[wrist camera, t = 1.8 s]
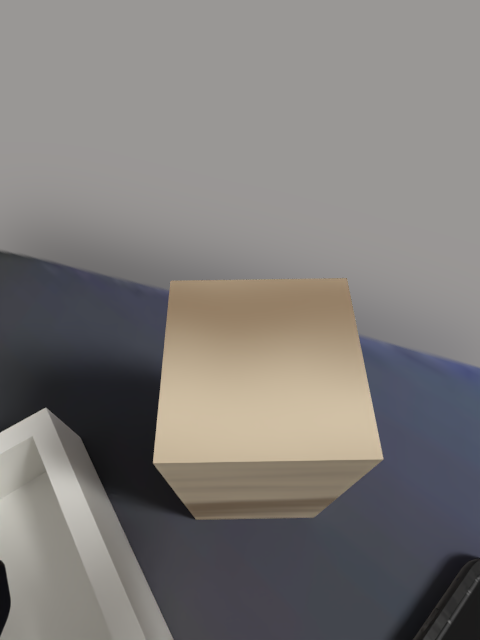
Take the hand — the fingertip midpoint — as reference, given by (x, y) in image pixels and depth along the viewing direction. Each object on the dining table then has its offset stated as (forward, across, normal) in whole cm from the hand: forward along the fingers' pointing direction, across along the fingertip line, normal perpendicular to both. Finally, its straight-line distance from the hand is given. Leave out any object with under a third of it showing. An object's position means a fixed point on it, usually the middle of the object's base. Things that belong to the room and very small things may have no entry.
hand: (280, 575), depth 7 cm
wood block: (+11, 0, +5) cm, 12 cm away
